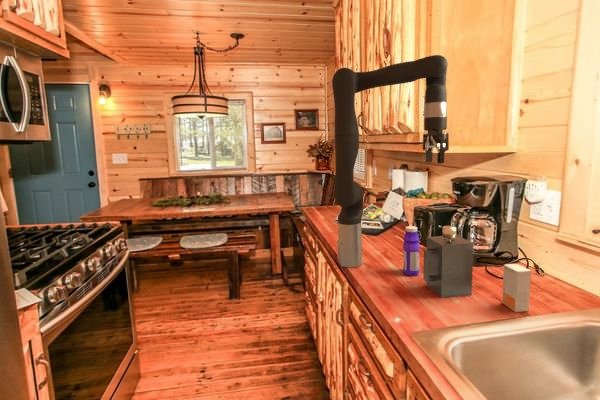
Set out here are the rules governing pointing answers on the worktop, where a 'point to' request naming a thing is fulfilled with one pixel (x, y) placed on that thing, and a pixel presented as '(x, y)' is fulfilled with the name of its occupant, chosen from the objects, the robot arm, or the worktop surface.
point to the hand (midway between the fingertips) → (434, 162)
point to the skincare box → (516, 287)
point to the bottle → (411, 251)
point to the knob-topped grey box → (448, 266)
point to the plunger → (449, 232)
